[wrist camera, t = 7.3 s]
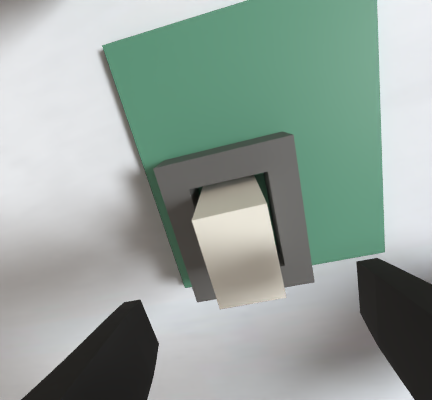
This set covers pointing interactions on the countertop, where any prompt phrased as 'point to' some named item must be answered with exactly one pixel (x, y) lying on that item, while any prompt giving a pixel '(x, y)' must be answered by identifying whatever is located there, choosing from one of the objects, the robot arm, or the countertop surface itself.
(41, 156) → the countertop surface
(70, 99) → the countertop surface
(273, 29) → the board
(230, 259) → the plug
